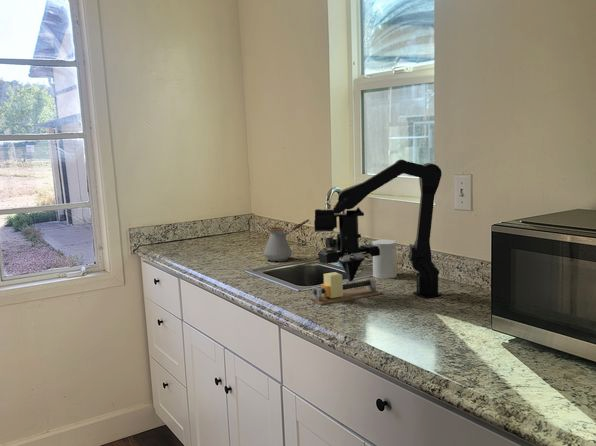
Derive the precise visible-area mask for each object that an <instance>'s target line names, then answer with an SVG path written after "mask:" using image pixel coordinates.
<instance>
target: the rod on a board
mask: <svg viewBox="0 0 596 446" xmlns="http://www.w3.org/2000/svg"><path fill="white" fill-rule="evenodd" d="M376 282H377V280H375V279H372V278H370V277H367V278H365V280H363V281H356V282H350V283H344V284H343V296H342V297H336V298H330V297H326V296H324V295H322V293H325V288H321V287H320V288H318V287H317V286H313V287H311V288H312V289H311V291H312V296H308V298H307V299H308V300H310V301H312V302H313V303H315V304H318V305H320V306H325V305H329V304H335V303H341V302H346V301H353V300H357V299H362V298H368V297H374V296H378V295H382V293H381V292H380V291H377V288H376V287H377V285H376V284H377V283H376Z"/></svg>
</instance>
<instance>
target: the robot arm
mask: <svg viewBox="0 0 596 446" xmlns="http://www.w3.org/2000/svg"><path fill="white" fill-rule="evenodd" d="M404 174H405V175H409V176H413V177H416V178H418V181H419V188H420V200H419V207H418V208H419V209H418V219H417V228H416V236H415V237H416V238H415V241H414V243H413V244H412V243H409V245H408V246H409V247H408V248H409V252H408V255H407V257H408V259H409V262H410V264H411V266H412V267H413V269H414V270H415V271H416V272H417V273H416V282H415V283H416V285H415V286H416V290H415V291H412V294H414V295H416V296H419V297H421V298H424V299H429V298H433V297H439V296H443V293H442V292H441V291H440V292H439V274H440V270H439V269H438V267H437V266H436V264H435V263H434V262H433V261H432V260H433V259H432V249H431V243H430V241H431V232H432V225H433V224H432V222H433V213H434V203H435V195H436V193H437V190H438V188H439V185H440V183H441V179H442V175H443V174H442V169H441V168H440V167H439V165H437V164H434V163H432V162H431V163H430V162H426V163H423V164H421V163H415V162H411V161H408V160H405V159H398V160H397V161H395V162H394V163H393V164H391V165H389V166H387V167H386V168H385V169H383V170H381V171H379V172H378V173H376V174H374V175H373V176H371V177H370V178H368V179H366V180H364V181H363V182H361V183H358V184H355V185H352V186H349V187H346V188H344V189H343V190H341V191H340V192H339V194H338V198H337V200H338V201H337V202H336V204H335V205H334V206H333V208H332V209H331V208H330V209H329V208H328V209H319V208H318V209H317V208H315V210H314V222H313V225H314V232H315V233H317V232H320V233H321V232H322V233H323V232H334V229H337V228H338V227H339V229H338V231H339V232H338V233H337V234H336V238H333V237H332V236H331V237H326V238H325V240H324V241H325V242H324V243H325V244H324V245H325V248H326V249H325V250H321V251H320V252H319V253H318V261H320V262H323V263H325V264H333V263H337V262H338V263H340V264H341V266H342V269H343V271H344V273H345V275H346V277H347V280H348V282H353V281H354V279H355V277H356V274H357V272H358V270H359V268H360V266H361V264H362V262H364V261H365V258H364V257H363V255H367V254H368V255H370V256H371V257H373V256H379V255H380V249H379V247H378V246H375V245H373V244H370V243H369V244H361V245H360V242H359V241H360V240H359V239H361V238H362V234H361V233H359V217H364V216H365V214H364V213H365V212H364V211H362V209H360V207H357V208H356V209H354V208H355V207H356V206H358V205H359V204H360V203H361V202H362V201H363V200H365V198H366V197H367V196H369V195H370V194H371V193H373V192H374V191H377V189H379V188H381V187H383V186H384V185H386V184H387V183H389V182H392V181H393V180H394V179H397V178H398V177H399V176H401V175H404ZM345 210H346V211H345ZM344 211H345V213H342V212H344ZM337 219H338V220H337ZM338 225H339V226H338Z"/></svg>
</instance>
